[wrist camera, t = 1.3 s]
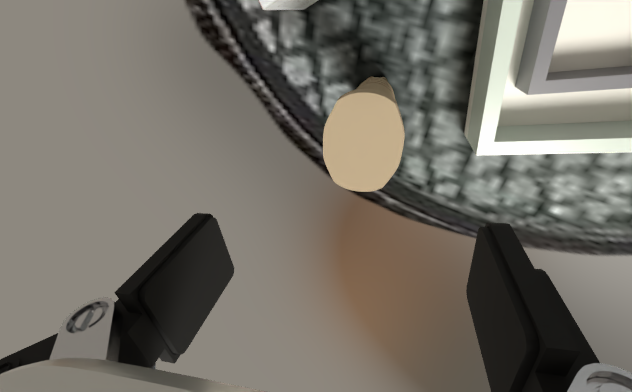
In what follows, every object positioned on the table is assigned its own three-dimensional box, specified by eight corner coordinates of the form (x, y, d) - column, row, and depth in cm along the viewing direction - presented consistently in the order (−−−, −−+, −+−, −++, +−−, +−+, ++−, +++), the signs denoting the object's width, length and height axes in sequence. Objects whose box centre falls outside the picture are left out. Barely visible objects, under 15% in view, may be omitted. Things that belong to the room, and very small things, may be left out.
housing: (504, -144, 20) (536, -190, 15) (836, -230, 16) (1015, -328, 11) (464, 133, 30) (476, 155, 26) (658, 126, 26) (714, 150, 21)
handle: (350, 119, 32) (322, 186, 20) (355, 56, 29) (324, 89, 16) (394, 123, 31) (393, 196, 19) (405, 58, 28) (412, 95, 15)
